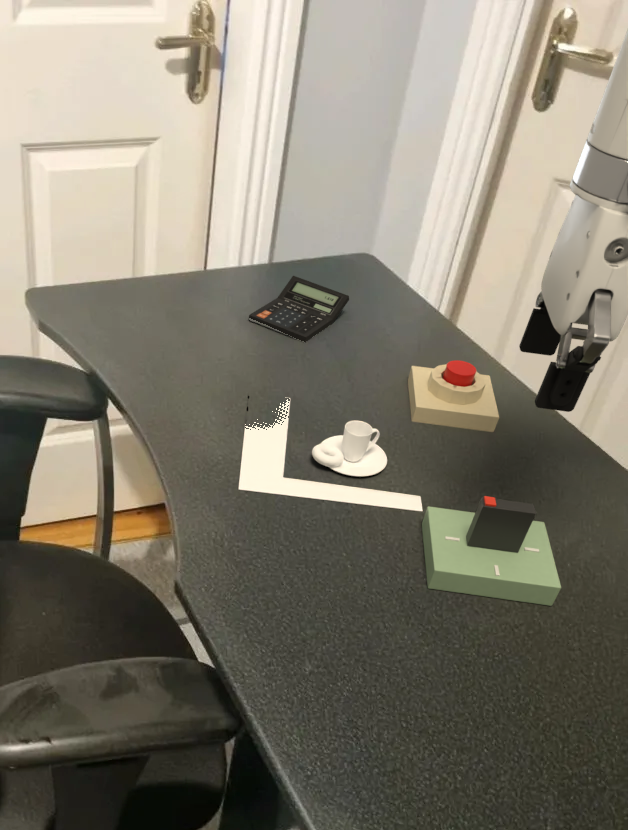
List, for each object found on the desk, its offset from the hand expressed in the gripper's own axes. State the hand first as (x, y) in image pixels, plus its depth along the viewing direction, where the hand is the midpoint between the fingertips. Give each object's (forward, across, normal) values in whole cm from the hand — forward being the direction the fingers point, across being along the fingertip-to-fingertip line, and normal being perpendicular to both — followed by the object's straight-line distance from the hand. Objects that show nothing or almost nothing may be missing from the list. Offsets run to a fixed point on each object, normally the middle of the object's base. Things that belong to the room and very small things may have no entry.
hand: (543, 378), depth 76 cm
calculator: (+19, +45, +21) cm, 53 cm away
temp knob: (+16, -4, 0) cm, 17 cm away
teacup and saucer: (+19, +13, +16) cm, 28 cm away
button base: (+19, +26, +1) cm, 32 cm away
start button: (+15, +26, +1) cm, 30 cm away
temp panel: (+19, -4, 0) cm, 19 cm away
